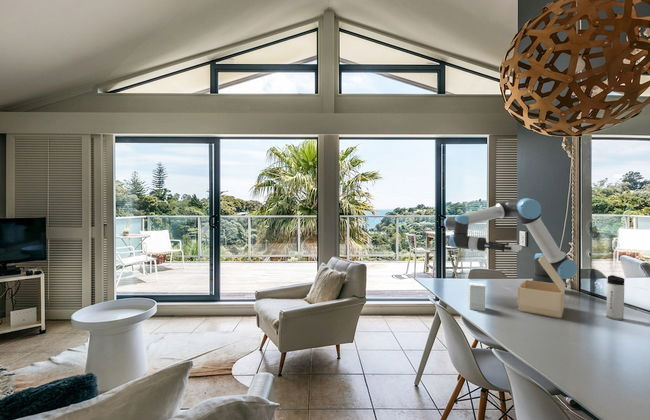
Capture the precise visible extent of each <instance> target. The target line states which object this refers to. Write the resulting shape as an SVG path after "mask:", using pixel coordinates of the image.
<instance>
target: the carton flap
mask: <svg viewBox="0 0 650 420" xmlns="http://www.w3.org/2000/svg"><path fill="white" fill-rule="evenodd" d="M538 261H539V263H540V264H541V265H542V267H543V268H544V269H545V271H546V272H547V273H548V275H549V276H550V277H551V279H552V280H553V281H554V283H555V284H556V285H557V287H558V288H559V290H560V291H561V292H562V293H564V289H565V290H566V286H567V284H566V283H565V282H564V280H563V278H561V277H560V276H559V275H558V273H557V272H556V271H555V269H554V268H553V267H552V265H551V264H550V263H549V261H548V260H547V259H546V257H545V256H544V255H542V256H541V257H540V259H539V260H538Z"/></svg>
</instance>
